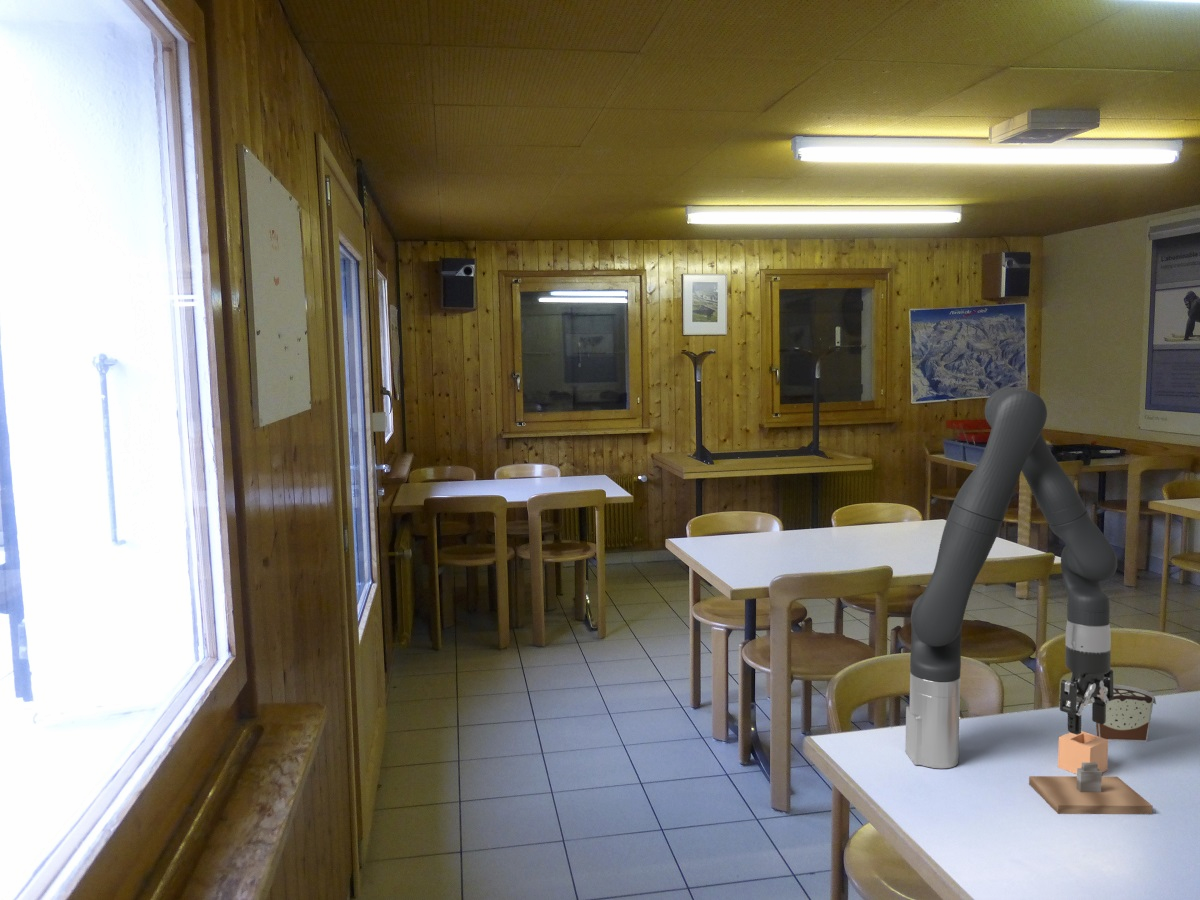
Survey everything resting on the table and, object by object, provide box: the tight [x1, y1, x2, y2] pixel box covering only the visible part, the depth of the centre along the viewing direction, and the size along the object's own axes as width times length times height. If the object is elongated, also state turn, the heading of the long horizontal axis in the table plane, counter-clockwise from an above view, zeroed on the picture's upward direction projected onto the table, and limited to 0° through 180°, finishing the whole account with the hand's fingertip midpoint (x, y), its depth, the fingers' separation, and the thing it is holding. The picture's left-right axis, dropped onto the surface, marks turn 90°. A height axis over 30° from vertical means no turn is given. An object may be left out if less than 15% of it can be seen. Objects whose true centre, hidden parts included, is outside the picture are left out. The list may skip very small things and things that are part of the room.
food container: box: [1090, 683, 1157, 743], centre depth 183 cm, size 12×6×10 cm, turn 84°
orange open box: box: [1057, 730, 1109, 775], centre depth 168 cm, size 6×6×6 cm
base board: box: [1028, 763, 1154, 815], centre depth 156 cm, size 16×11×6 cm
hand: (1086, 727), depth 167 cm, fingers open, 8 cm apart
